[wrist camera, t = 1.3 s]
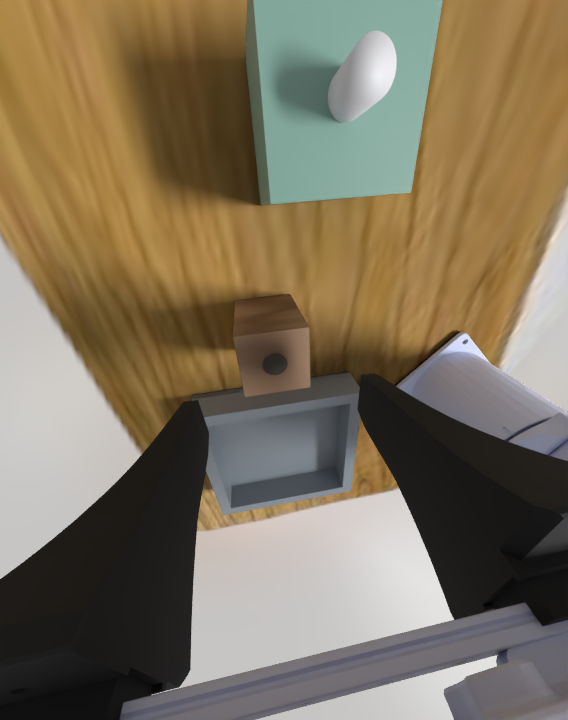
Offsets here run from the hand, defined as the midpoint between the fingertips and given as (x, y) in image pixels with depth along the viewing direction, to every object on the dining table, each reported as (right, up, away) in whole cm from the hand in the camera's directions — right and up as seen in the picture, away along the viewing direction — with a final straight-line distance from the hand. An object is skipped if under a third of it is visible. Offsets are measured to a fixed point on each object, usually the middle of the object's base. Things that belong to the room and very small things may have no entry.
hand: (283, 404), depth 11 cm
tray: (0, -6, +15) cm, 16 cm away
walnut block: (-1, +5, +8) cm, 9 cm away
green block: (+1, +14, +3) cm, 15 cm away
